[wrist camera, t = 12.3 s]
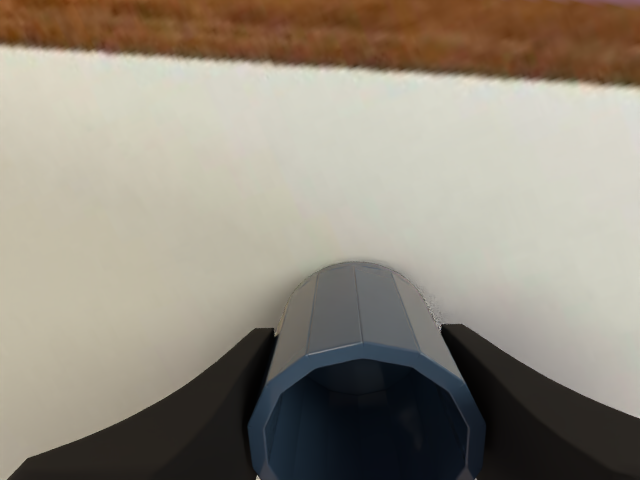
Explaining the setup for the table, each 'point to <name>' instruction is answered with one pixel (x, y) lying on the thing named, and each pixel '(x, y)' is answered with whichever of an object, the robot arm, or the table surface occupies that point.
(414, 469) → the tumbler
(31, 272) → the table surface
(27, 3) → the table surface
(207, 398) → the robot arm
